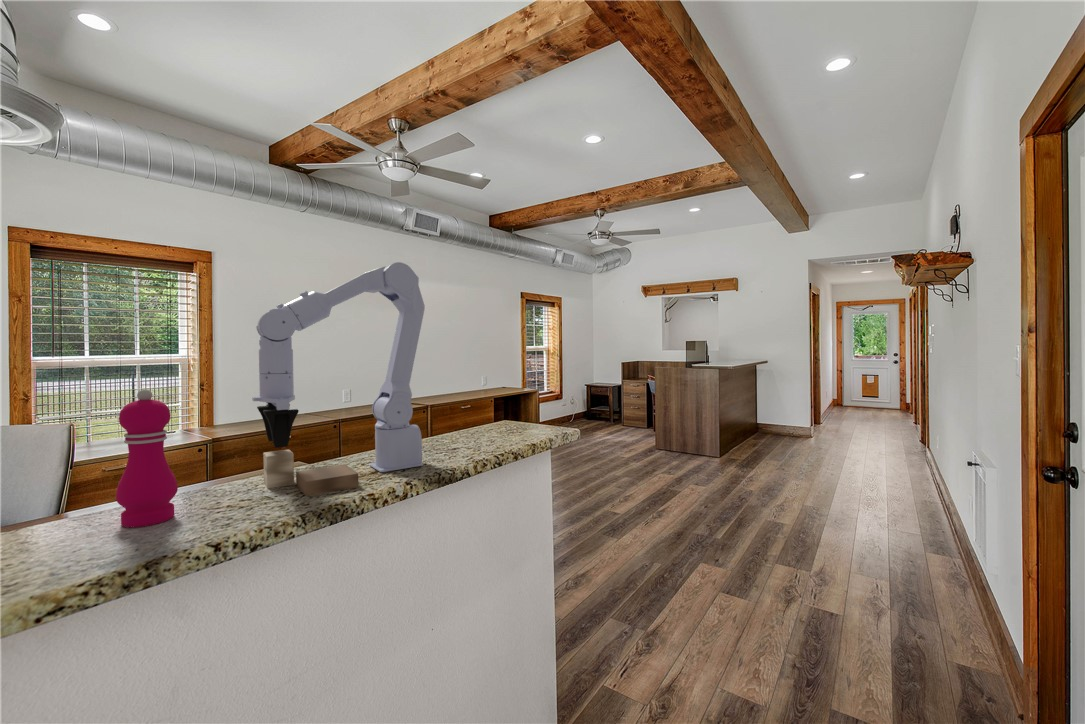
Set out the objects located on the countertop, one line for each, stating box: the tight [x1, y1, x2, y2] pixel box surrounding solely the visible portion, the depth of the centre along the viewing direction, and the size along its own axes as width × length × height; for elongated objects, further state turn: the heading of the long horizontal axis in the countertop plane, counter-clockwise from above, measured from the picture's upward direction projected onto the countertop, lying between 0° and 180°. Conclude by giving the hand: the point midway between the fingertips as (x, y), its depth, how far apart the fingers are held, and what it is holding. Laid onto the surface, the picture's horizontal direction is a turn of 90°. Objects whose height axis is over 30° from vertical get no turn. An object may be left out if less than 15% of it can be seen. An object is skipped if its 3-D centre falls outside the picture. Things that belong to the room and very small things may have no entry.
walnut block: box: [295, 463, 360, 497], centre depth 90 cm, size 9×9×3 cm
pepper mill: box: [115, 388, 179, 528], centre depth 72 cm, size 7×7×20 cm
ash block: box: [262, 449, 295, 489], centre depth 92 cm, size 4×4×6 cm
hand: (277, 443), depth 92 cm, fingers open, 7 cm apart
